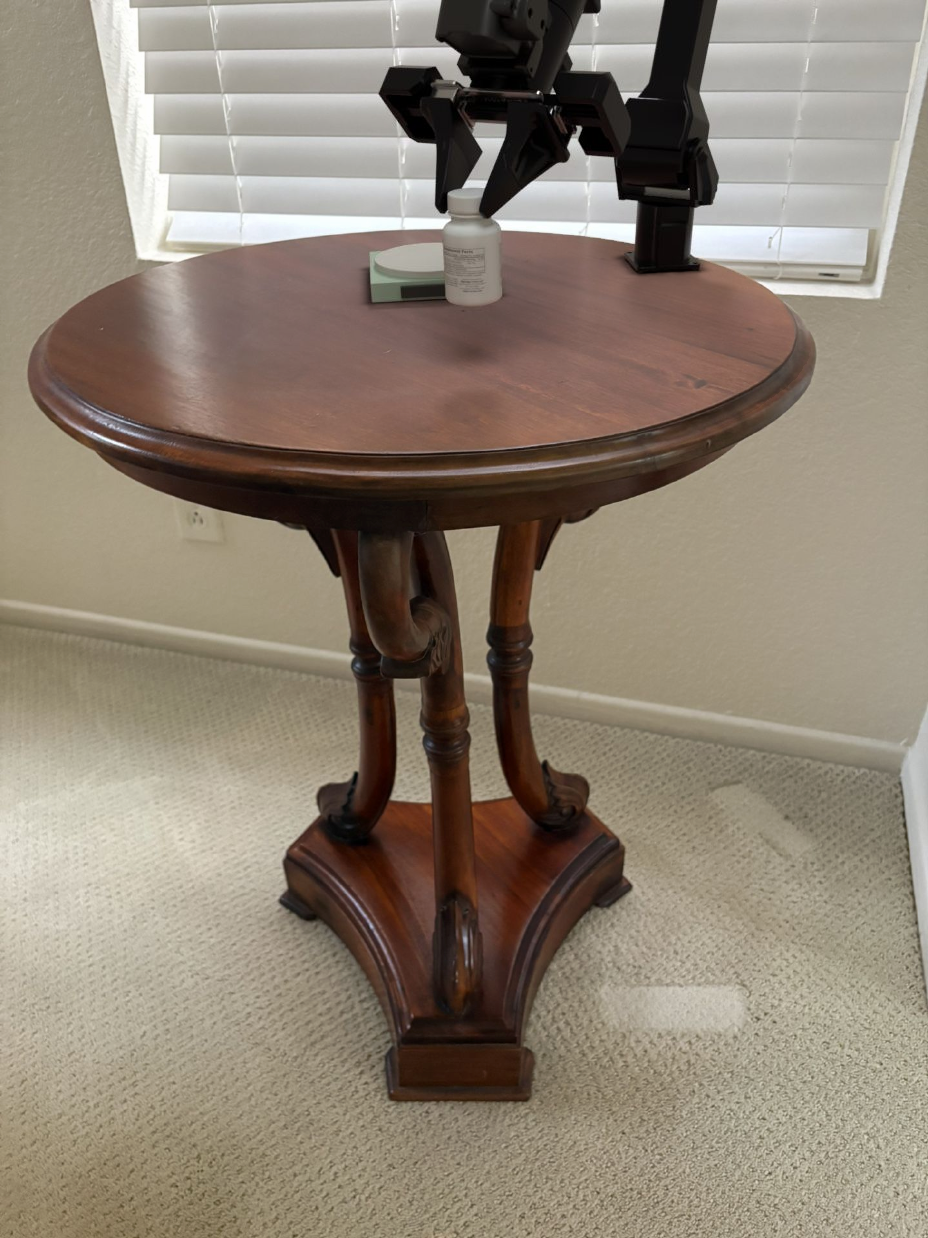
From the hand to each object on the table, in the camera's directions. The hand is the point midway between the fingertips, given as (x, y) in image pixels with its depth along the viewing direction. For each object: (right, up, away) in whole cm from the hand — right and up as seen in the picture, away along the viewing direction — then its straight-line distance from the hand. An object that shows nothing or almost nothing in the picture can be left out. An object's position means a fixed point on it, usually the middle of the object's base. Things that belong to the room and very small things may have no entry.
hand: (460, 212), depth 73 cm
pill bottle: (+1, -5, +5) cm, 7 cm away
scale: (-3, +4, +28) cm, 29 cm away
